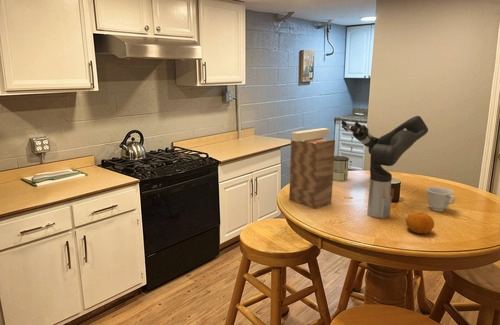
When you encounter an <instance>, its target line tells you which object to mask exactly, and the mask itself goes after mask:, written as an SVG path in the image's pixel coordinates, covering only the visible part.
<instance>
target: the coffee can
mask: <svg viewBox="0 0 500 325" xmlns="http://www.w3.org/2000/svg"><path fill="white" fill-rule="evenodd" d="M349 160H350V158H349V157H348V156H344V155H342V156H341V155H334V167H333V182H341V183H343V182H347V181H348V175H349V174H348V172H349Z"/></svg>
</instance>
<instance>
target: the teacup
mask: <svg viewBox="0 0 500 325" xmlns="http://www.w3.org/2000/svg"><path fill="white" fill-rule="evenodd" d="M425 189H426V192H427V193H426V194H427V204H428V206H429V207H430V210H431V211H434V212H437V213H438V212H439V213H441V212H445V209H447V208H448V207H449V205H453V204H454V203H455V201H456V197H455V196H454V195H453V194H455V191H454V190H453V189H451V188H447V187H445V186H444V187H442V186H428V187H426V188H425Z"/></svg>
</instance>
